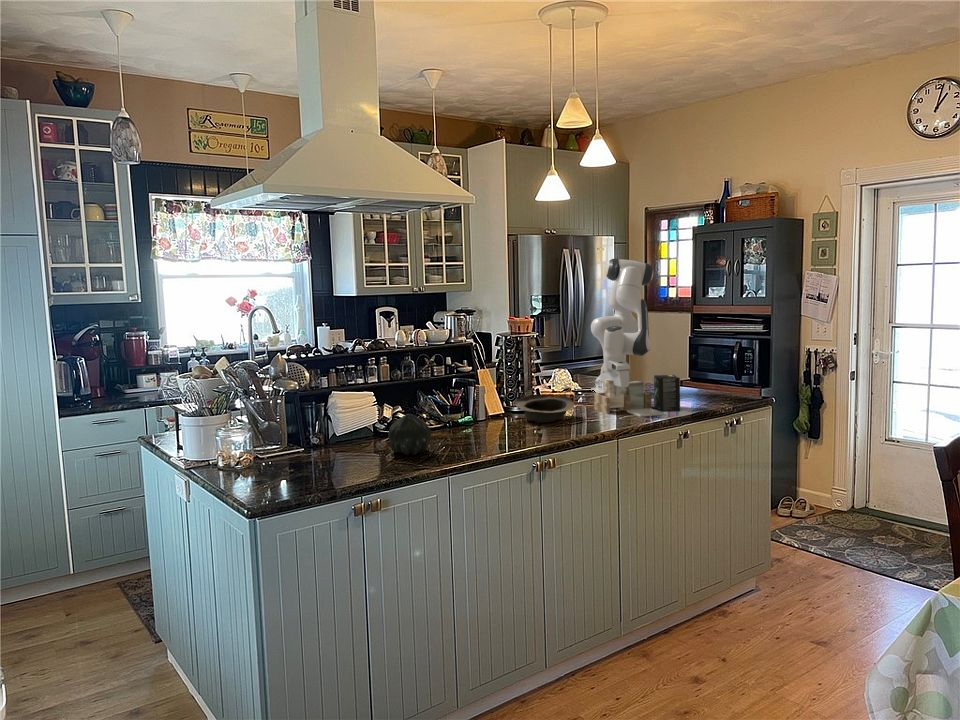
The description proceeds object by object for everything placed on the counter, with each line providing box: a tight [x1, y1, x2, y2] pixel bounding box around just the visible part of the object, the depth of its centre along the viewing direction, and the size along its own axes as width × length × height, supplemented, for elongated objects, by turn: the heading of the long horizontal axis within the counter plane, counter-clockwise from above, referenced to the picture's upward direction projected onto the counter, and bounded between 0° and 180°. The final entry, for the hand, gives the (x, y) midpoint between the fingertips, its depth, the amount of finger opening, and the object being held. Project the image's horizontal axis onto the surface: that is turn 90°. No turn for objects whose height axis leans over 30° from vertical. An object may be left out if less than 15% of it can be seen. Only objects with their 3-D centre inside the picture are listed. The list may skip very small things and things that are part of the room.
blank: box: [605, 379, 624, 409], centre depth 317 cm, size 4×7×12 cm, turn 108°
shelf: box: [592, 380, 652, 415], centre depth 321 cm, size 13×22×12 cm, turn 107°
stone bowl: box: [514, 393, 575, 424], centre depth 305 cm, size 25×25×9 cm
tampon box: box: [653, 374, 681, 412], centre depth 319 cm, size 11×9×15 cm
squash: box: [388, 413, 432, 456], centre depth 254 cm, size 14×15×15 cm
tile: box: [626, 407, 664, 418], centre depth 311 cm, size 11×11×1 cm
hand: (614, 395), depth 317 cm, fingers closed on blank, 4 cm apart
